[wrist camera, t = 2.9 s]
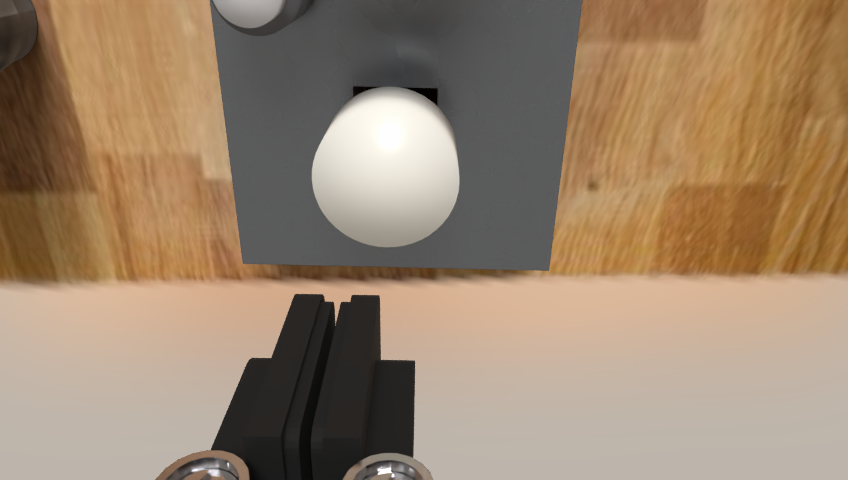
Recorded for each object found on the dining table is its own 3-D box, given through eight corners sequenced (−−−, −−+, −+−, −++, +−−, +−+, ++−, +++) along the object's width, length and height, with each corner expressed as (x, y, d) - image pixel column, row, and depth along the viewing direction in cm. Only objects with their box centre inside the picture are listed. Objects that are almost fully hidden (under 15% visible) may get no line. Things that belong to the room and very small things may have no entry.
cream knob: (454, 61, 26) (462, 110, 19) (450, 169, 28) (456, 249, 21) (340, 59, 26) (307, 106, 19) (344, 167, 28) (316, 245, 21)
